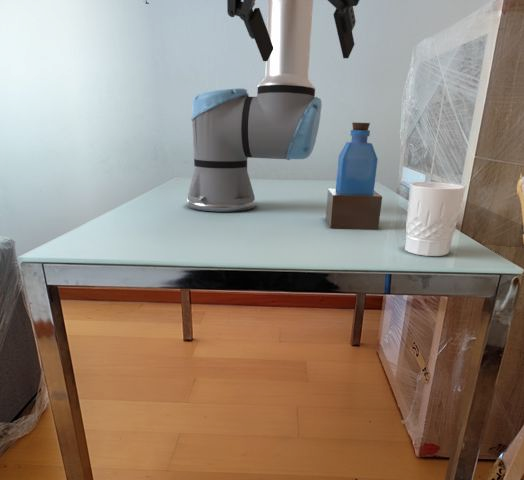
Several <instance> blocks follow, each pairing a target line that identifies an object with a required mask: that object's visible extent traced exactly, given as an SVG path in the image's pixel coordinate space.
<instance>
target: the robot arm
mask: <svg viewBox="0 0 524 480" xmlns="http://www.w3.org/2000/svg"><path fill="white" fill-rule="evenodd" d="M327 2H329V3H330V4H331V5H332V6H333V7H334V8H335V10H334V12H333V13H332V15H333V19H334V23H335V28H336V32H337V37H338V41H339V45H340V50H341V55H342V58H343V59H349V58H350V55H351V53H352V51H353V49H354V47H355V40H354V34H353V31H354V28H355V25H356V22H357V21H356V16H355V9H354V7H356V6H358V5H359V3H360V0H327ZM226 4H227V6H226V7H227V8H226V9H227V10H226V11H227V15H228V16H229V17H230V18H235V16H236V17H239V19H240V20H242V22H243V23H244V26H245V28H246V31H247V33H248V36H249V37H250V39H251V40H255V44H256V47H257V49H258V51H259V53H260V57H261V60H262V62H265V75H264V78H263V79H262V80H261V81H260V82H259V84H258V85H257V93H256V96H250V93H249V90H248V89H246V88H244V87H243V88H227V89H218V90H211V91H206V92H201V93H198V94H197V95H195V96H194V98H193V100H192V105H191V107H192V108H191V109H192V112H191V113H192V115H191V122H192V123H191V124H192V147H193V173H192V177H191V182H190V185H189V189H188V193H187V199H186V201H187V207H188V208H189V209H192V210H196V211H204V212H217V213H221V212H223V213H224V212H225V213H231V212H243V211H248V210H253V209H254V208H255V207H256V197H255V192H254V189H253V186H252V183H251V179H250V176H249V172H248V158H251V159H269V160H270V159H271V160H272V159H273V160H287V161H290V160H305V159H308V158H309V157H310V156H311V154H312V153H313V150H314V148H315V145H316V142H317V137H318V133H319V132H318V131H319V127H320V122H321V115H322V113H321V112H322V106H323V104H322V103H323V102H322V99H321V98H320V97H319V96H316V87H315V85H314V84H313V83H312V81H311V80H310V78H309V74H310V72H309V71H310V57H311V43H312V41H311V40H312V24H313V10H314V0H267V16H266V17H267V19H266V20H267V22H266V23H265V20H264V17H263V14H262V12H261V9H260V7H255V5H256V0H243V1H242V0H226ZM254 7H255V8H254ZM253 8H254V9H253Z"/></svg>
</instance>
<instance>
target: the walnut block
mask: <svg viewBox="0 0 524 480" xmlns="http://www.w3.org/2000/svg"><path fill="white" fill-rule="evenodd" d="M382 201H383V196H382V195H381V194H379V193H378V191H376V190H374V193H373V195H350V194H339V193H338V192H337V190H336V188H327V197H326V209H325V210H326V211H325V221H326V222H327V224H328V226H329V228H330V229H344V230H345V229H346V230H347V229H348V230H379V227H380V219H381V218H380V217H381V212H382V211H381V210H382Z"/></svg>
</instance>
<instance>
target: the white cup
mask: <svg viewBox="0 0 524 480" xmlns="http://www.w3.org/2000/svg"><path fill="white" fill-rule="evenodd" d="M465 192H466V186H464V185H463V184H458V183H450V182H440V181H439V182H437V181H416V182H415V181H414V182H411V183H410V184H409V193H408V201H407V211H406V221H405V224H406V225H405V233H406V234H405V241H404V250H405V251H406V252H408V253H410V254H413V255H417V256H424V257H425V256H426V257H442V256H446V255H448V254H449V253H450V248H451V245H452V241H453V239H452V238H453V237H454V235H455V232H456V227H457V223H458V221H459V217H460V213H461V208H462V204H463V199H464V196H465Z"/></svg>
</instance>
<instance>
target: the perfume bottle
mask: <svg viewBox="0 0 524 480" xmlns="http://www.w3.org/2000/svg"><path fill="white" fill-rule="evenodd" d="M351 124H352V129H350V135H349V136H350V137H351V141H346V142H345V144H344V146H343V147H342V149H341V151H340V152H339V155H338V158H337V159H338V160H337V170H336V183H335V189H336V190H337V192H338V193H339V194H350V195H373V193H374V191H375V183H376V176H377V167H378V160H379V159H378V157H377V154H376V150H375V148H374V146H373V143H370V142H368V137H370V135H371V134H370V133H371V130H369V128H370V124H371V122H352V123H351Z"/></svg>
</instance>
